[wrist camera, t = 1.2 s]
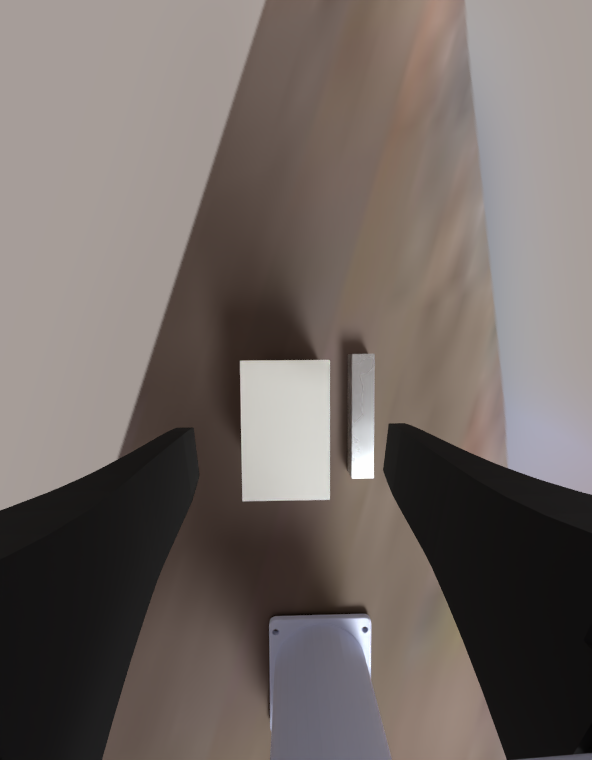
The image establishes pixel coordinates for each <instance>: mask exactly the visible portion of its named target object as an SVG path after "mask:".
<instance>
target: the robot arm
mask: <svg viewBox="0 0 592 760" xmlns="http://www.w3.org/2000/svg"><path fill="white" fill-rule="evenodd" d="M383 471H384V474H385V477H386V479H387V482H388V485H389V487H390V490H391V492H392V495H393V496H394V498H395V500H396V502H397V504H398V506H399V508H400V509H401V511H402V513H403V515H404V517H405V518H406V520H407V522H408V524H409V526H410V527H411V529H412V531H413V533H414V535H415V536H416V538H417V540H418V542H419V544H420V545H421V547H422V549H423V551H424V553H425V555H426V557H427V559H428V561H429V563H430V565H431V566H432V569H433V571H434V573H435V576H436V578H437V580H438V582H439V585H440V587H441V589H442V591H443V594H444V596H445V598H446V601H447V603H448V605H449V608H450V610H451V613H452V615H453V618H454V620H455V622H456V625H457V627H458V630H459V632H460V635H461V637H462V639H463V642H464V645H465V647H466V650H467V652H468V655H469V658H470V660H471V663H472V665H473V668H474V671H475V673H476V676H477V678H478V681H479V684H480V686H481V689H482V691H483V694H484V697H485V700H486V702H487V705H488V708H489V711H490V714H491V716H492V719H493V722H494V725H495V727H496V730H497V733H498V736H499V739H500V741H501V744H502V747H503V750H504V753H505V755H506V758H507V760H592V495H590V494H586V493H582V492H578V491H575V490H572V489H568V488H565V487H562V486H559V485H555V484H552V483H548V482H545V481H542V480H539V479H536V478H533V477H530V476H527V475H525V474H522V473H519V472H516V471H514V470H511V469H508V468H505V467H503V466H500V465H498V464H495V463H493V462H490V461H488V460H485V459H483V458H481V457H478V456H476V455H474V454H471V453H469V452H467V451H465V450H463V449H460V448H458V447H456V446H454V445H452V444H450V443H448V442H446V441H443V440H441V439H439V438H437V437H435V436H433V435H431V434H429V433H427V432H425V431H423V430H420V429H418V428H416V427H414V426H411V425H408V424H405V423H397V424H389V426H388V434H387V443H386V451H385V460H384V468H383ZM198 479H199V468H198V460H197V452H196V444H195V436H194V428H175V429H173V430H170V431H168V432H167V433H165V434H163V435H161V436H159V437H157V438H156V439H154V440H152V441H150V442H149V443H147V444H145V445H143V446H142V447H140V448H138V449H136V450H135V451H133V452H131V453H129V454H128V455H126V456H124V457H122V458H120V459H118V460H116V461H114V462H112V463H111V464H109V465H107V466H105V467H103V468H101V469H99V470H97V471H95V472H93V473H91V474H89V475H87V476H85V477H83V478H80V479H78V480H76V481H74V482H71V483H69V484H67V485H65V486H63V487H60V488H58V489H55V490H53V491H51V492H48V493H46V494H43V495H40V496H38V497H35V498H33V499H30V500H27V501H24V502H22V503H19V504H17V505H14V506H12V507H9V508H6V509H3V510H1V511H0V760H102V757H103V754H104V750H105V747H106V743H107V740H108V736H109V732H110V729H111V725H112V722H113V718H114V715H115V711H116V708H117V705H118V701H119V698H120V695H121V691H122V688H123V685H124V681H125V678H126V675H127V671H128V668H129V665H130V661H131V658H132V655H133V652H134V649H135V646H136V643H137V639H138V636H139V633H140V630H141V627H142V624H143V621H144V618H145V615H146V612H147V609H148V606H149V603H150V600H151V597H152V594H153V591H154V588H155V586H156V583H157V580H158V577H159V575H160V572H161V570H162V567H163V565H164V563H165V560H166V558H167V556H168V554H169V551H170V549H171V547H172V545H173V543H174V540H175V538H176V536H177V534H178V531H179V529H180V527H181V525H182V523H183V520H184V518H185V516H186V514H187V511H188V509H189V507H190V504H191V502H192V499H193V496H194V493H195V490H196V486H197V482H198ZM363 627H366V628H363ZM274 629H277V631H274ZM269 660H270V729H271V731H272V733H271V754H270V760H392V758H391V755H390V751H389V747H388V743H387V739H386V735H385V731H384V728H383V724H382V720H381V716H380V712H379V708H378V705H377V701H376V697H375V693H374V689H373V685H372V681H371V620H370V617H369V616H368V615H367V614H334V615H298V616H274V617H272V618H271V619H270V622H269Z"/></svg>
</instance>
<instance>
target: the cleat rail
mask: <svg viewBox="0 0 592 760" xmlns="http://www.w3.org/2000/svg"><path fill="white" fill-rule="evenodd" d="M374 374H375V354H349V355H348V443H347V471H348V473H349V474H350V476H351V478H374Z"/></svg>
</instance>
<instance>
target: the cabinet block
mask: <svg viewBox="0 0 592 760" xmlns="http://www.w3.org/2000/svg"><path fill="white" fill-rule="evenodd" d="M240 392H241V450H242V501H286V500H330V360H249V361H240Z"/></svg>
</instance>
